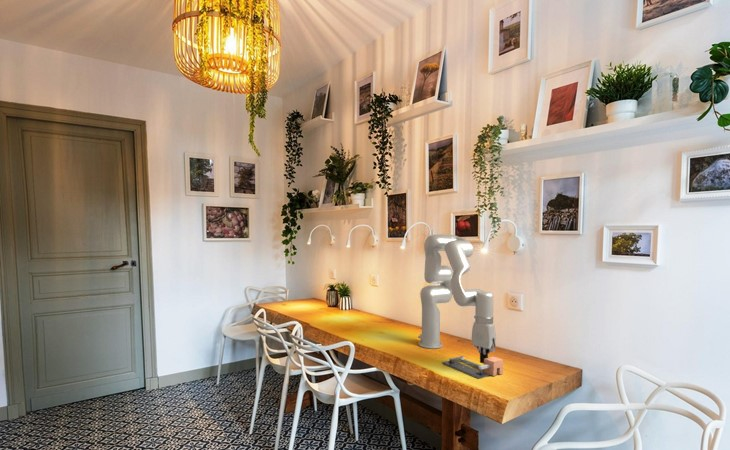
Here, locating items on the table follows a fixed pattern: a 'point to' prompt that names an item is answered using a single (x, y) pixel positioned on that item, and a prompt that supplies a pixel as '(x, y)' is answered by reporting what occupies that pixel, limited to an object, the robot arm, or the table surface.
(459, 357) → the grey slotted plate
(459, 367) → the bolt plate
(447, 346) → the table surface
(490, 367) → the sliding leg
